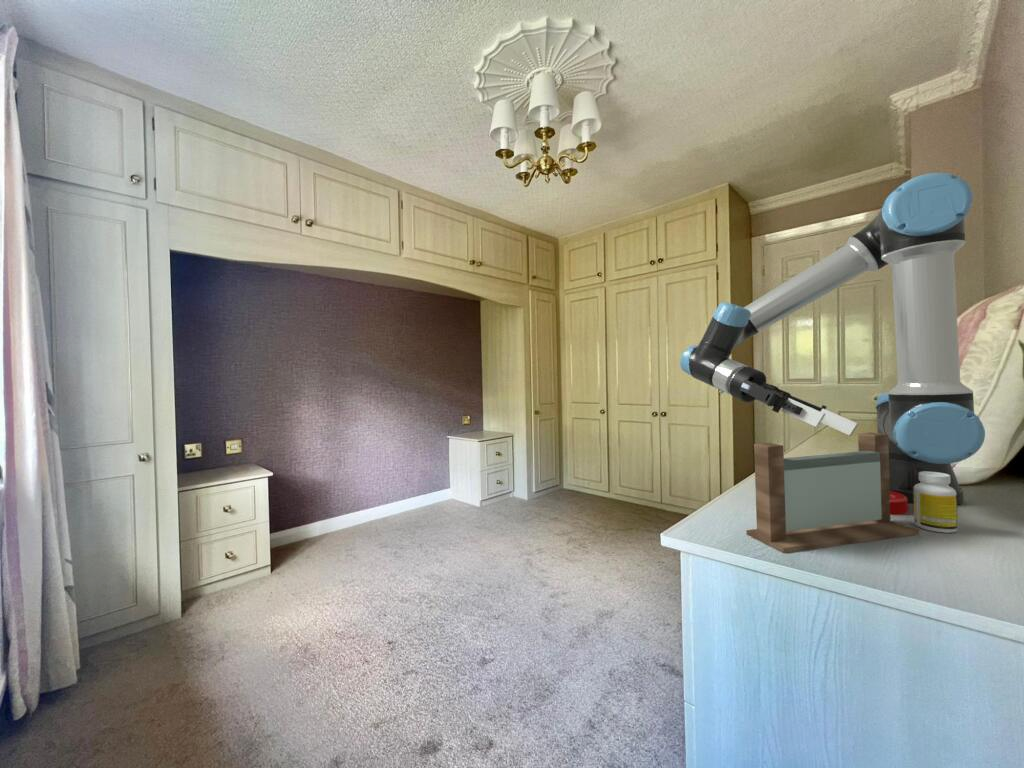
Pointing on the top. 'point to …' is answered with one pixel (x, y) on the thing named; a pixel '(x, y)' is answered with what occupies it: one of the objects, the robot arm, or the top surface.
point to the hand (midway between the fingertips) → (838, 425)
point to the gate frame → (776, 536)
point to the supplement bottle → (935, 503)
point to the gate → (832, 489)
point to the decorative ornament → (898, 503)
